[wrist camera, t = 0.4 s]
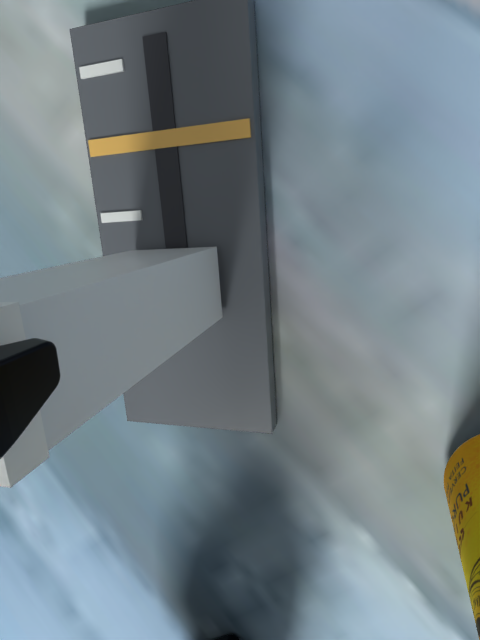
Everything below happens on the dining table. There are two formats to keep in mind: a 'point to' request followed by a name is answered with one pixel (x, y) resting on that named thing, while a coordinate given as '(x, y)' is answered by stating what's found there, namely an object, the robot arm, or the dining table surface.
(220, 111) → the console
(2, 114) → the dining table surface
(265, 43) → the dining table surface
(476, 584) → the beer can
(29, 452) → the fader tab
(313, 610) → the dining table surface
